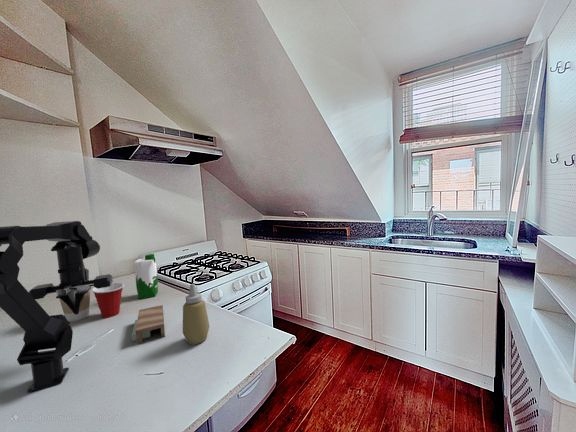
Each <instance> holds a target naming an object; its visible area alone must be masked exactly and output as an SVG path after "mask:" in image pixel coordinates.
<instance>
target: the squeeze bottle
mask: <svg viewBox="0 0 576 432" xmlns="http://www.w3.org/2000/svg"><path fill="white" fill-rule="evenodd" d="M209 331H210V321H209V317H208V312H207V306H206V301H205V300H203V298H202V294H201V293H199V292H198V291H197V288H196V285H195V283H191V284H190V285H189V292H188V294H187V295H186V296H185V303H184V304H183V306H182V334H183V336H184V338H185V341H186V343H187V344H189V345H198V344H202V343H203V342H204V341H206V340H207V338H208V335H209Z"/></svg>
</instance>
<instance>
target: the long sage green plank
mask: <svg viewBox="0 0 576 432" xmlns="http://www.w3.org/2000/svg"><path fill="white" fill-rule="evenodd" d="M136 325H137V319H135V321H134V325H133V329H132V333H131V335H132V342H135V341H137V340H136ZM151 333H152V330H150V331H146V332H142V339H146V338H149V337H151Z"/></svg>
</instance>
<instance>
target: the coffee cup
mask: <svg viewBox="0 0 576 432" xmlns="http://www.w3.org/2000/svg"><path fill="white" fill-rule="evenodd" d="M88 280H89V279H88ZM88 280H85V281H88ZM58 285H60V283H58ZM76 286H78V285H76ZM70 287H71V286H70ZM90 287H91V288H92V286H90ZM65 288H66V287H65ZM72 290H73V289H72ZM77 291H78V290H77V289H74V297H75V293H76V292H77ZM55 293H56V294H57V292H55ZM58 299H59V302H60V306H61V309H62V312H63V315H64V316H65V317H66V319H67V321H69V322H71V323H72V322H73V323H74V322H77V321H81V320H84V319H86V318H87V317H89V316H90V308H91V307H90V306H91V305H90V304H91V289H90V290H89V292H88V293H86V294H85V295H84V298H83V301H82V304H81V308H80V311H79V314H76V315H75V314H74V313H73V312H72V310H71V309H70V308H69V306H68V305H67V304H66V303H65V302H64V301H63V300H61V299H60V298H58Z"/></svg>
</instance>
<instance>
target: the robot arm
mask: <svg viewBox="0 0 576 432" xmlns="http://www.w3.org/2000/svg"><path fill="white" fill-rule="evenodd" d="M44 240H47V241H49V242H56V243H55V244H54V245H53V246H52V248H51V249H50V251H51V252H56V256H57V257H56V258H57V265H58V269H57V273H58V275H59V284H60V285H59V284H57V285H54V284H53V282H52V283H51V282H50V283H44V284H37V285H36V286H34V287H32V288H31V289H30V290H29V291H28V290H27V289H26V288H25V287H24V285H23V284H22V283H21V282H20V281H19V280H18V279H19V274H20V270H21V269H20V267H19V265H18V263H20V260H21V259H23V256H24V249H23V248H24V247H23V245H24V244H25V242H34V241H35V242H36V241H44ZM3 245H8V246H7V248H6V249H5V250H4V251H0V309H1V310H2V311H3V312H5V313H6V315H8V316H9V318H11V319H12V320H13V321H14V322H15V323H16V324H17V325H18V326H19V327H21V329H22V330H23V331H24V333H23V338H22V340H23V342H24V344H23V346H22V348H21V351H20V352H19V354H18V356H17V359H16V361H17V363H18V364H19V366H23V365H29V364H30V367H31V375H32V382H31V384H30V386H29V387H28V388H27V390H26V391H27V392H26V393H32V392H35V391H38V390H43V389H46V388H49V387H52V386H55V385H58V384H61V383H63V381H64V379H65V377H66V375H67V373H68V372H69V370H70V367H64V362H63V357H64V356H65V355H66V354H68V353H69V352H70V351H71V350H72V343H73V334H74V333H73V331H74V330H73V328H72V327H71V325H70V324H71V323H72V322H69V321H67V319H66V317H65V316H64V314H62V313H61V314H54V315H53V314H51V315H49V313H48V312H47V311H46V310H45V309H44V308H43V307H42V306H41V304H40V303H39V302H38V301H37V300H41V299H44V298H45V297H46V296H47V295H48V294H53V293H56V292H57V293H56V296H55V299H59V298H60V299H61V300H63V301H64V302H65V303H66V304H67V305H68V306H69V308H70V309H71V310H72V312H73V313H74V314H75V315H76V314H79V311H80V308H81V304H82V301H83V298H84V295H85V294H86V293H88V292H89V290H90V291H91V290H92V287H93V288H94V287H95V288H97V289H99V288H105V287H109V286H111V284H112V283H114V281H113V276H112V274H109V273H108V274H103V275H101V274H100V275H97V276H95V278H94V279H90V277H89V275H90V271H89V269H88V268H86V267H85V262H84V260H85V259H88V258H90V257H93V256H96V255H98V254H99V252H100V251H101V250H100V249H101V245H100V244H99V242H98V241H96V240H94V239H93V236H91V235H90V233H89V231H88V230H87V229H86V227H85V226H84V225H83V224H82V222H81V221H79V220H72V221H71V220H70V221H56V222H51V223H47V224H46V225H33V226H32V225H30V226H29V225H27V226H20V225H8V226H0V247H1V246H3ZM85 280H88V281H85ZM76 285H78V286H76ZM70 286H71V287H70ZM90 286H91V287H90ZM65 287H66V288H65ZM72 289H73V290H72ZM74 289H77V290H78V291H77V292H76V293H75V297H74ZM60 299H59V300H60Z"/></svg>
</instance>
